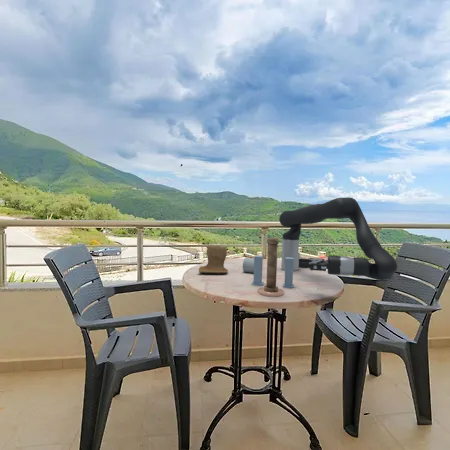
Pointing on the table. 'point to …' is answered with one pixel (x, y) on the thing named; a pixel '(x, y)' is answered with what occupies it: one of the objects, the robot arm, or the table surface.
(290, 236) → the robot arm
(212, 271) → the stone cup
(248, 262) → the ceramic mug
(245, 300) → the table surface
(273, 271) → the candlestick
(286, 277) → the blue pillar pair
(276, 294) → the disc
